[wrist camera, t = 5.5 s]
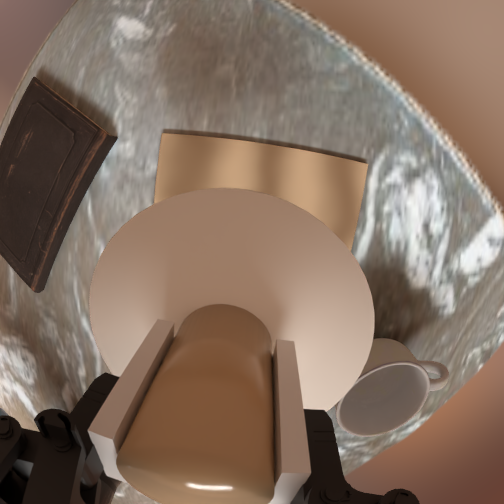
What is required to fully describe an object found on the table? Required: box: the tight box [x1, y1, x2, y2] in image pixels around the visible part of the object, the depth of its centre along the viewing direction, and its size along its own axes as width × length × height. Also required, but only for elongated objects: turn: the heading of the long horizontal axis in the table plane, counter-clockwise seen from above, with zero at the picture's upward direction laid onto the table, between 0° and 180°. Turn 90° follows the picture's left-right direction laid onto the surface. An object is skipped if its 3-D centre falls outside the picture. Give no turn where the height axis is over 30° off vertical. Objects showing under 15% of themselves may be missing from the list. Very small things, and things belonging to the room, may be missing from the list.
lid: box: [89, 187, 374, 504], centre depth 10 cm, size 14×14×8 cm
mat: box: [154, 133, 368, 252], centre depth 29 cm, size 20×20×1 cm
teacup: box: [335, 338, 449, 437], centre depth 29 cm, size 14×11×8 cm
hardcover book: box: [0, 77, 118, 293], centre depth 28 cm, size 16×23×2 cm
